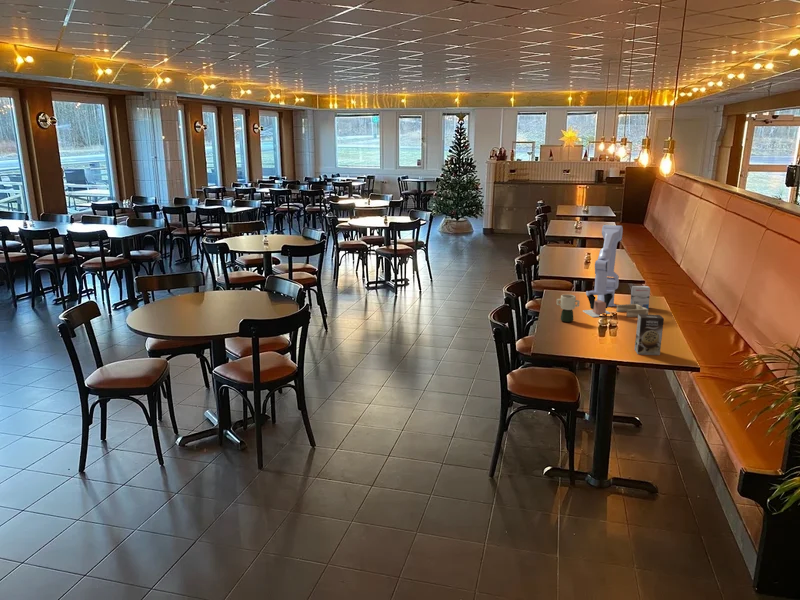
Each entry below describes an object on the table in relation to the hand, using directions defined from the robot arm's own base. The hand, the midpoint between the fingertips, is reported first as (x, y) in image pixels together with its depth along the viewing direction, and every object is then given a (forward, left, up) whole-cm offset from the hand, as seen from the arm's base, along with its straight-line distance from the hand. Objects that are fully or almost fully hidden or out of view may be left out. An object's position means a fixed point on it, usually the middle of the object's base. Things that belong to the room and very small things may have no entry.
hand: (598, 308), depth 312 cm
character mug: (+10, -22, -3) cm, 24 cm away
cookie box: (+61, -9, -3) cm, 62 cm away
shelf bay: (+3, +16, -3) cm, 17 cm away
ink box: (-7, +27, -3) cm, 28 cm away
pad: (0, 0, -3) cm, 3 cm away
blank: (0, 0, -2) cm, 2 cm away
